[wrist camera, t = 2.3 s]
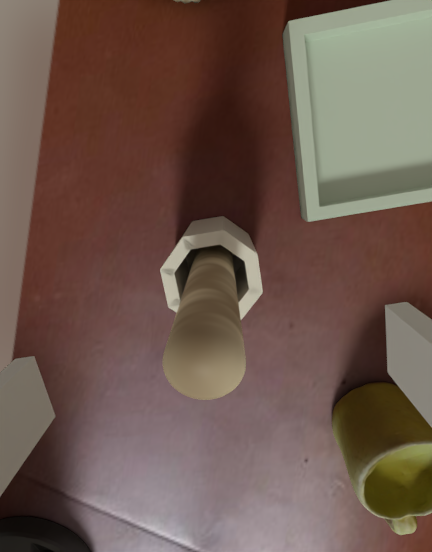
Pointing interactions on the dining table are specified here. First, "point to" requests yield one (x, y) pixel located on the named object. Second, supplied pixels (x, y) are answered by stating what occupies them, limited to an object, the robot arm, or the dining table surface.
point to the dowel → (207, 330)
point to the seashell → (188, 1)
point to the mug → (386, 453)
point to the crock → (210, 235)
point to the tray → (361, 107)
